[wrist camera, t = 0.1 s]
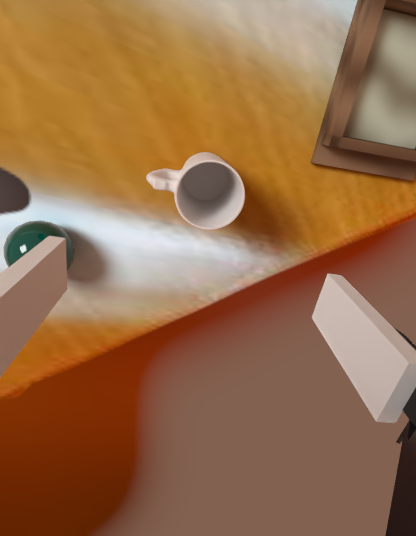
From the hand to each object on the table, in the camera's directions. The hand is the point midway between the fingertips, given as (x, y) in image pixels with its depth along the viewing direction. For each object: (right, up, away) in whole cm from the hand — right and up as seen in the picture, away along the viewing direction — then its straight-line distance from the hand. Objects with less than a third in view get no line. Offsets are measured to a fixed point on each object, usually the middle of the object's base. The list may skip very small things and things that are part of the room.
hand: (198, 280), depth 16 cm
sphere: (-21, +5, +28) cm, 35 cm away
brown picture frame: (+22, +23, +22) cm, 38 cm away
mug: (-2, +13, +25) cm, 28 cm away
